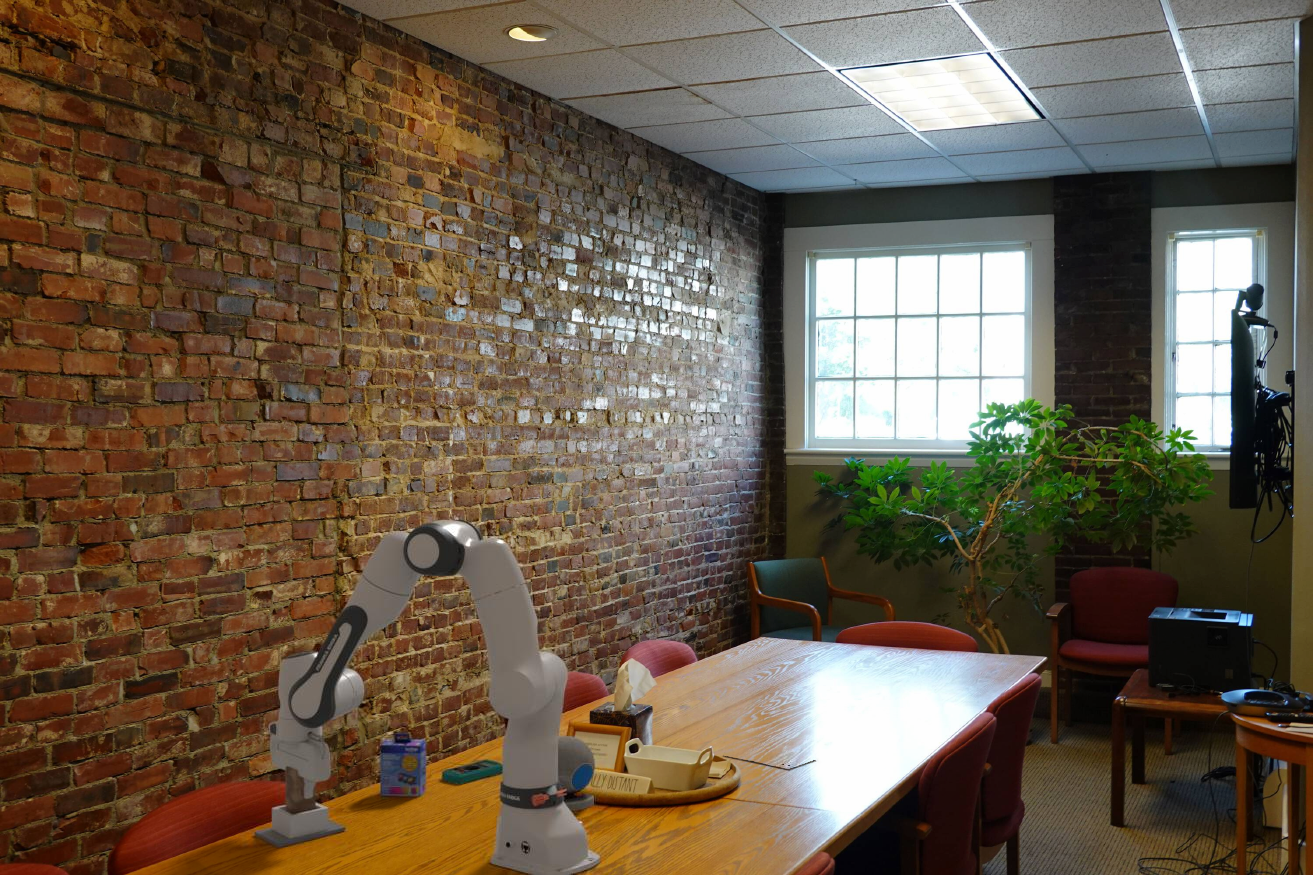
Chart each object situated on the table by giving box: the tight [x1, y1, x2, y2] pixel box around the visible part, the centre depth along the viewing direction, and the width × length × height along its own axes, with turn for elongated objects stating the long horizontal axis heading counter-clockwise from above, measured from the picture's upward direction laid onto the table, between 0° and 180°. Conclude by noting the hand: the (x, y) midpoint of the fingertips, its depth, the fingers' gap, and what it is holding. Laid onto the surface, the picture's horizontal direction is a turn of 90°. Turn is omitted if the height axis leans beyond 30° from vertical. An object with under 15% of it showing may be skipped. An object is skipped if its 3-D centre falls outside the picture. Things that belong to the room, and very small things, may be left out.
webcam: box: [558, 735, 596, 812], centre depth 263 cm, size 13×13×15 cm
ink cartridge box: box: [379, 733, 427, 798], centre depth 271 cm, size 10×6×14 cm, turn 88°
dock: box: [253, 802, 347, 849], centre depth 242 cm, size 11×15×5 cm
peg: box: [285, 766, 317, 814], centre depth 242 cm, size 4×4×12 cm
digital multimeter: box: [441, 759, 503, 785], centre depth 286 cm, size 7×15×3 cm, turn 138°
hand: (300, 794), depth 242 cm, fingers closed on peg, 4 cm apart
